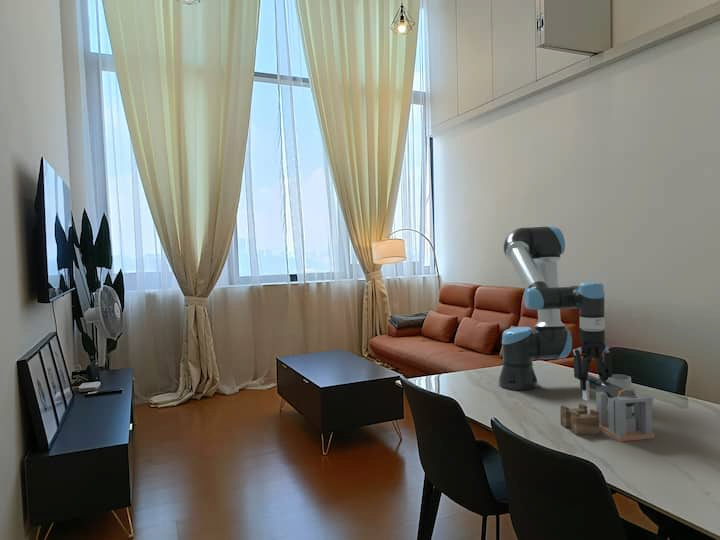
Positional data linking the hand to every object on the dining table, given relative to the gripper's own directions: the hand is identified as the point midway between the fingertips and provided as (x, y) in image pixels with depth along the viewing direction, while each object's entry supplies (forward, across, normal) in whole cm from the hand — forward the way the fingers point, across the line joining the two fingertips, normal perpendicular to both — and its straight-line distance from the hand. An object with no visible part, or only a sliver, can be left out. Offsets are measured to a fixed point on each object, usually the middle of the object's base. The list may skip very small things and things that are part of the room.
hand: (593, 399), depth 166 cm
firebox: (+6, 0, -12) cm, 13 cm away
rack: (+6, -11, -10) cm, 16 cm away
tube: (-3, 0, -7) cm, 8 cm away
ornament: (+6, +13, 0) cm, 14 cm away
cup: (+6, +16, +12) cm, 21 cm away
